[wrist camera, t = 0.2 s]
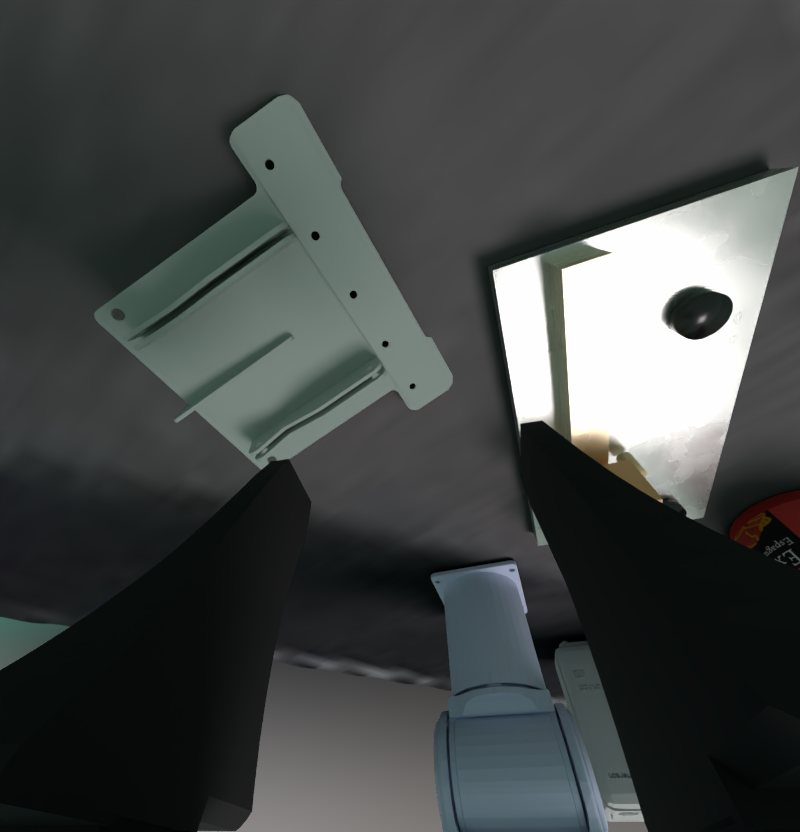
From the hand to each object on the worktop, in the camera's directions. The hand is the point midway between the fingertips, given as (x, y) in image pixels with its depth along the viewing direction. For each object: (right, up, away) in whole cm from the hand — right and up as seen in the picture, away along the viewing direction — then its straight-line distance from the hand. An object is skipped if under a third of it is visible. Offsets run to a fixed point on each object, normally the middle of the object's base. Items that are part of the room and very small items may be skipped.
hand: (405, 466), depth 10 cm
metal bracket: (-6, +7, +9) cm, 12 cm away
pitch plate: (+13, +2, +10) cm, 17 cm away
